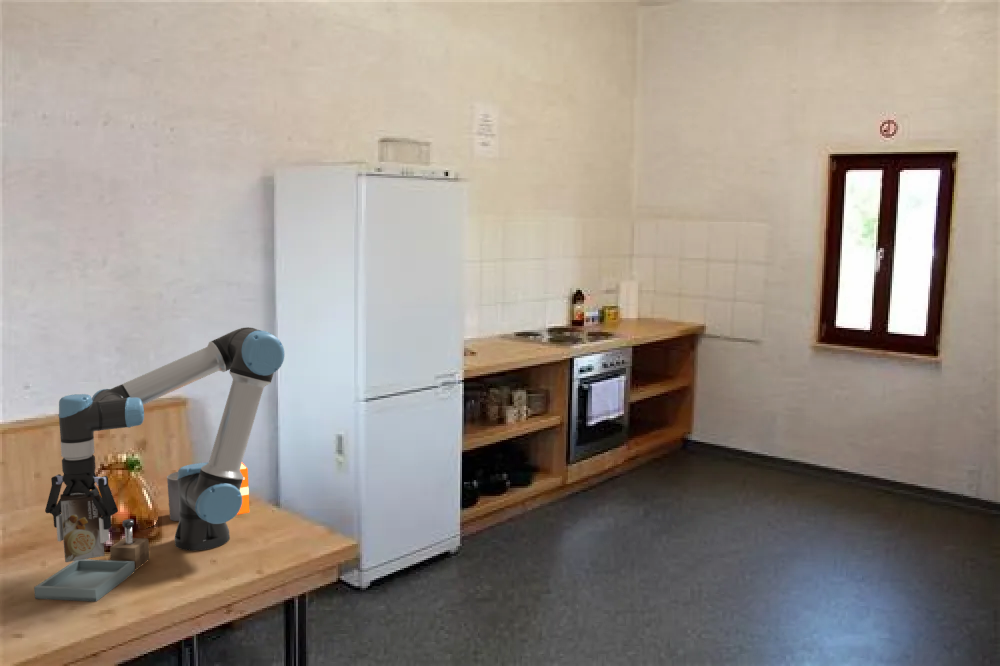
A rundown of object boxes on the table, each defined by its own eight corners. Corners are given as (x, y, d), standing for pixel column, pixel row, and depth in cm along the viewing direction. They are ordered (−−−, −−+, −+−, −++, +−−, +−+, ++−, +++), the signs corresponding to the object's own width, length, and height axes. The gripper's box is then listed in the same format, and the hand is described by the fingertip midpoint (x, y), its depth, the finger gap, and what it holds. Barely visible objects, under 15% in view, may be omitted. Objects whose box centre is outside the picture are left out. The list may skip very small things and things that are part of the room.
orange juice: (242, 504, 281) (240, 445, 279) (250, 512, 274) (247, 451, 271) (218, 508, 277) (215, 449, 274) (225, 516, 270) (222, 455, 267)
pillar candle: (198, 509, 276) (195, 464, 274) (205, 517, 268) (202, 471, 266) (166, 515, 271) (163, 469, 269) (173, 524, 263) (170, 477, 261)
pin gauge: (138, 562, 233) (135, 519, 232) (132, 566, 230) (130, 522, 229) (128, 561, 233) (126, 518, 232) (123, 565, 231) (120, 522, 229)
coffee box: (103, 548, 222) (100, 488, 220) (104, 556, 217) (101, 495, 215) (64, 554, 218) (60, 493, 216) (64, 563, 212) (60, 500, 211)
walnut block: (149, 559, 235) (148, 538, 234) (136, 569, 228) (134, 548, 227) (125, 558, 236) (124, 537, 235) (111, 568, 229) (110, 547, 228)
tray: (134, 572, 227) (134, 561, 226) (96, 601, 209) (95, 589, 208) (78, 569, 228) (77, 558, 228) (35, 598, 210) (34, 587, 210)
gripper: (130, 453, 217) (134, 536, 219) (44, 451, 219) (49, 533, 222) (113, 461, 209) (118, 547, 212) (25, 458, 212) (31, 543, 214)
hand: (83, 540), depth 217 cm, fingers closed on coffee box, 11 cm apart
